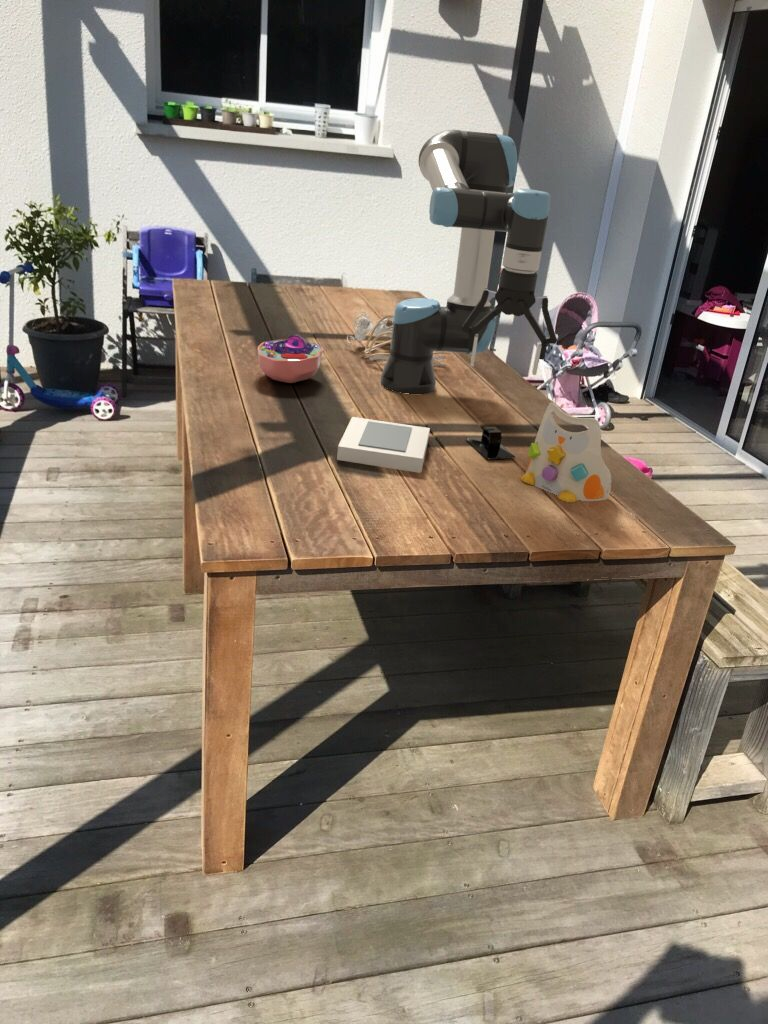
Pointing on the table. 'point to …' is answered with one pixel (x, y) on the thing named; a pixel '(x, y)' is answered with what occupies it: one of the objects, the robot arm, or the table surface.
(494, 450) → the black stand
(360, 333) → the plant holder
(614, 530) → the table surface
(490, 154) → the robot arm
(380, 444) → the plinth
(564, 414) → the shape sorter
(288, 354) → the cell model
